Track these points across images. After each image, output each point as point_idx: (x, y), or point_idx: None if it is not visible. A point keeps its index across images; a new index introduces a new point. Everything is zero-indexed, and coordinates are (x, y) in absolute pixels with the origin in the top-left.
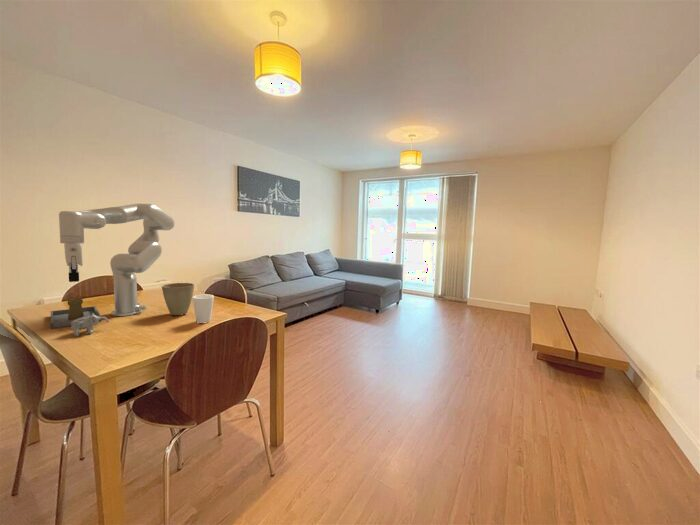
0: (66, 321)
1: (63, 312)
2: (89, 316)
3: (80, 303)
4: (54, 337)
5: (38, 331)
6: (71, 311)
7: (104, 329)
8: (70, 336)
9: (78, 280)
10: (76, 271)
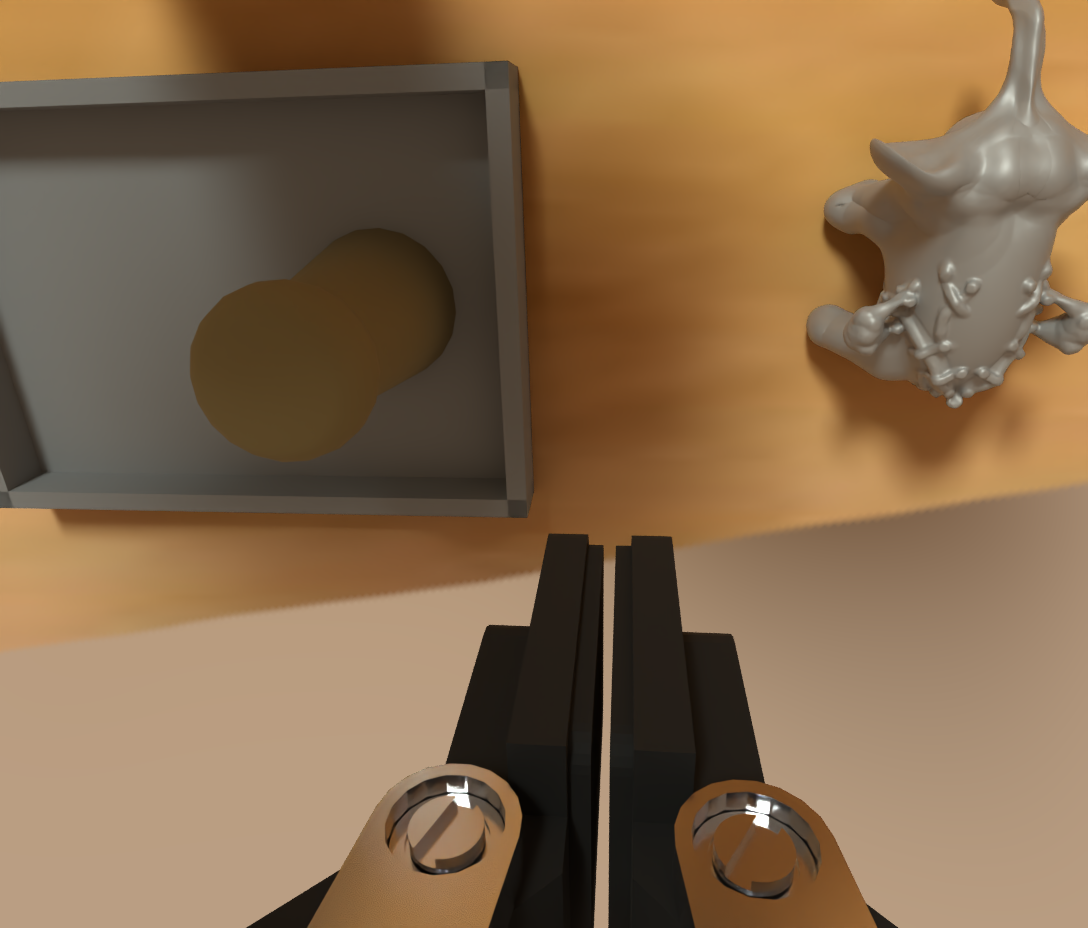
0: (522, 402)
1: (3, 403)
2: (1003, 220)
3: (350, 309)
4: (858, 474)
5: None
6: (393, 381)
7: (926, 51)
8: None
9: (666, 555)
10: (766, 886)
